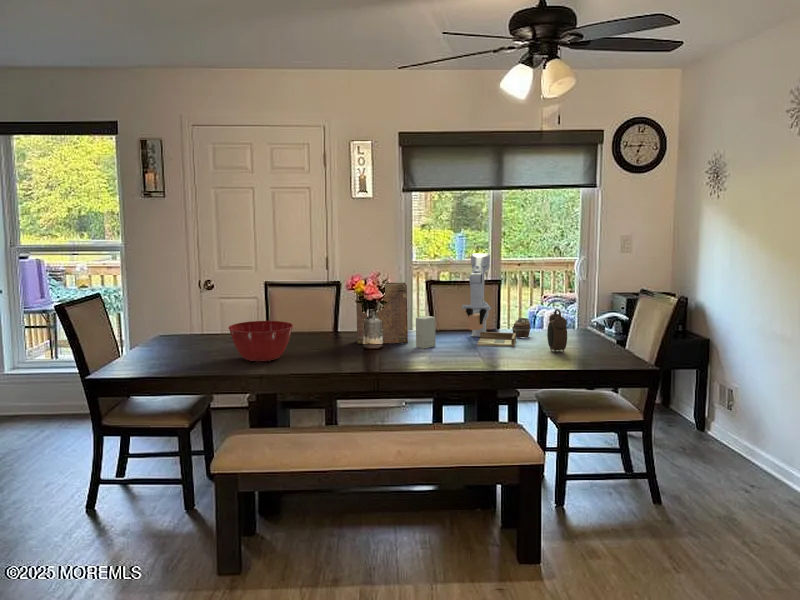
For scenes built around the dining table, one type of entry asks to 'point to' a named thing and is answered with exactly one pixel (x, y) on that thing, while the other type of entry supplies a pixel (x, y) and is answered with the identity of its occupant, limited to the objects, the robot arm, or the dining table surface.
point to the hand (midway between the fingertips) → (476, 323)
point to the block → (475, 322)
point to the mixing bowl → (261, 339)
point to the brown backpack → (557, 332)
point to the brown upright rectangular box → (389, 315)
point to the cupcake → (521, 327)
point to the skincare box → (425, 332)
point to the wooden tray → (496, 339)
